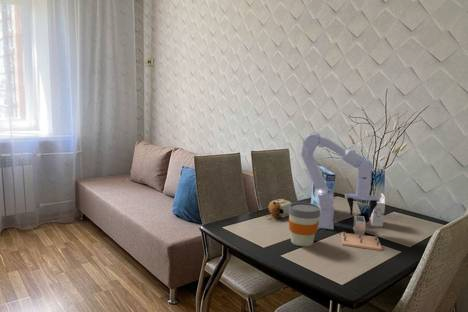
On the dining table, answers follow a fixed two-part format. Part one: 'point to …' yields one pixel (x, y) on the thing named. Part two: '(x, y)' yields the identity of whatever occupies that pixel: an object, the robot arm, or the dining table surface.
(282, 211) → the nautilus
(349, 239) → the wooden peg board
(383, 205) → the ink cartridge box
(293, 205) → the reusable coffee cup
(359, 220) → the drive
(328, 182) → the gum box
